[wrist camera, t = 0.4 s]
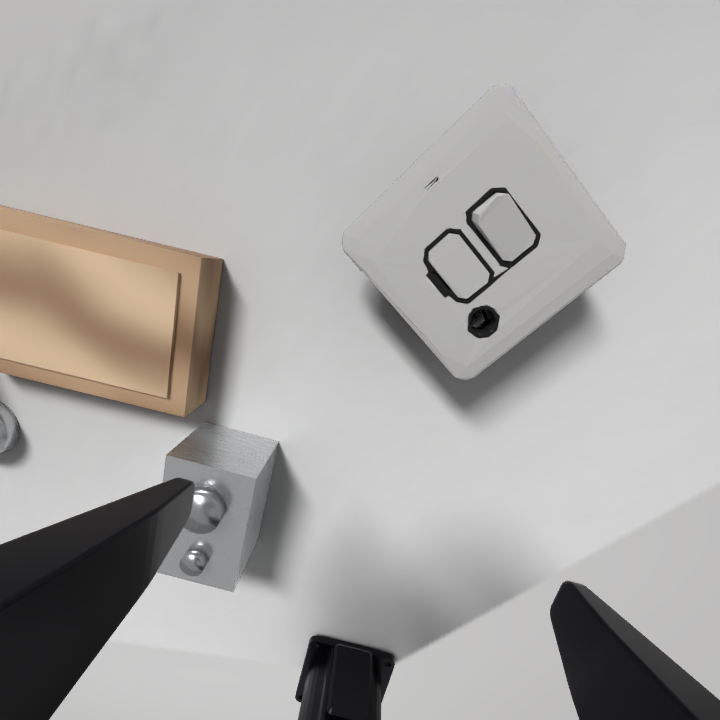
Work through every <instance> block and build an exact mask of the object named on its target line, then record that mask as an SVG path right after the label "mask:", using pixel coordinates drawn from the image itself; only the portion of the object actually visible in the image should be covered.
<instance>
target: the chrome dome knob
mask: <svg viewBox="0 0 720 720" xmlns="http://www.w3.org/2000/svg"><path fill="white" fill-rule="evenodd" d="M19 436H20V427H19V423H18V420H17V418H16V417H15V415H14V413H13V412H12V411H11V410H10V409H9V408H8V407H7V406H6V405H5V404H3V403H2V402H0V453H1V452H3V451H5V450H8V449H10V448H11V447H13V446H14V445H15V444H16V443H17V441H18V439H19Z"/></svg>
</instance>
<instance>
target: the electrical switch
mask: <svg viewBox="0 0 720 720" xmlns="http://www.w3.org/2000/svg"><path fill="white" fill-rule="evenodd" d="M485 199H486V200H485ZM484 200H485V201H484ZM483 201H484V202H483ZM482 202H483V203H482ZM481 203H482V204H481ZM342 246H343V250H344V252H345V253H346V254H347V255H348V256H349V257H350V258H351V260H352V261H353V262H354V263H355V264H356V266H357V267H358V268H359V269H360V270H361V271H363V273H364V274H365V275H366V276H367V277H368V278H369V279H370V281H371V282H372V283H373V284H374V285H375V286H376V287H377V289H378V290H379V291H380V292H381V293H382V294H383V295H384V297H385V298H386V299H387V300H388V301H389V302H390V303H391V305H392V306H393V307H394V308H395V309H396V310H397V312H398V313H399V314H400V315H401V316H402V317H403V318H404V320H405V321H406V322H407V323H408V324H409V325H410V326H411V328H412V329H413V330H414V331H415V332H416V333H417V334H418V336H419V337H420V338H421V339H422V340H423V341H424V342H425V344H426V345H427V346H428V347H429V348H430V349H431V350H432V352H433V353H434V354H435V355H436V357H437V358H438V360H439V361H440V362H441V363H442V364H443V365H444V366H445V367H446V368H447V370H448V371H449V372H450V373H451V374H452V375H453V376H454V377H455V378H458V379H461V380H464V381H466V380H469V379H472V378H474V377H476V376H477V375H478V374H480V373H481V372H482V371H483V370H485V369H486V368H487V367H489V366H490V365H491V364H492V363H494V362H495V361H496V360H498V359H499V358H500V357H501V356H503V355H504V354H505V353H507V352H508V351H509V350H510V349H512V348H513V347H514V346H515V345H517V344H518V343H519V342H521V341H522V340H523V339H524V338H526V337H527V336H528V335H530V334H531V333H532V332H533V331H535V330H536V329H537V328H539V327H540V326H541V325H542V324H544V323H545V322H546V321H548V320H549V319H550V318H551V317H553V316H554V315H555V314H557V313H558V312H559V311H560V310H562V309H563V308H564V307H565V306H567V305H568V304H569V303H571V302H572V301H573V300H574V299H576V298H577V297H578V296H580V295H581V294H582V293H583V292H585V291H586V290H587V289H589V288H590V287H591V286H592V285H594V284H595V283H596V282H598V281H599V280H600V279H601V278H603V277H604V276H605V275H607V274H608V273H609V272H610V271H612V270H613V269H614V268H615V267H617V266H618V265H619V264H620V263H621V262H622V260H623V259H624V254H625V246H626V244H625V242H624V241H623V240H622V238H621V237H620V236H619V234H618V233H617V231H616V230H615V229H614V227H613V226H612V225H611V223H610V222H609V221H608V219H607V218H606V217H605V215H604V214H603V212H602V211H601V210H600V208H599V207H598V206H597V204H596V203H595V201H594V200H593V199H592V197H591V196H590V194H589V193H588V192H587V190H586V189H585V187H584V186H583V185H582V183H581V182H580V180H579V179H578V178H577V176H576V175H575V174H574V172H573V171H572V169H571V168H570V167H569V165H568V164H567V162H566V161H565V160H564V158H563V157H562V155H561V154H560V153H559V151H558V150H557V149H556V147H555V146H554V144H553V143H552V142H551V140H550V139H549V137H548V136H547V135H546V133H545V132H544V130H543V129H542V128H541V126H540V125H539V123H538V122H537V121H536V119H535V118H534V117H533V115H532V114H531V112H530V111H529V110H528V108H527V107H526V105H525V104H524V103H523V101H522V100H521V98H520V97H519V96H518V94H517V93H516V92H515V90H514V89H513V88H512V87H510V86H508V85H506V84H503V85H496V86H493V87H491V88H490V89H489V90H488V91H487V92H486V93H485V94H484V95H483V96H482V97H481V98H480V99H479V100H478V101H477V102H476V103H475V104H474V105H473V106H472V107H471V108H470V109H469V110H468V111H467V112H466V113H465V114H464V115H463V116H462V117H461V118H460V119H459V120H458V121H457V122H456V123H455V124H454V125H453V126H452V127H451V128H449V129H448V130H447V131H446V132H445V133H444V134H443V135H442V136H441V137H440V138H439V139H438V140H437V141H436V142H435V143H434V144H433V145H432V146H431V147H430V148H429V149H428V150H427V151H426V152H425V153H424V154H423V155H422V156H421V157H420V158H419V159H418V160H417V161H416V162H415V163H414V164H413V165H412V166H411V167H410V168H409V169H407V170H406V171H405V172H404V173H403V174H402V175H401V176H400V177H399V178H398V179H397V180H396V181H395V182H394V183H393V184H392V185H391V186H390V187H389V188H388V189H387V190H386V191H385V192H384V193H383V194H382V195H381V196H380V197H379V198H378V199H377V200H376V201H375V202H374V203H373V204H372V205H371V206H370V207H369V208H368V209H366V210H365V211H364V212H363V213H362V214H361V215H360V216H359V217H358V218H357V219H356V220H355V221H354V222H353V223H352V224H351V225H350V226H349V227H348V228H347V229H346V230H345V231H344V232H343V238H342ZM481 309H482V312H483V315H484V318H485V321H484V322H483V323H482V324H480V325H479V326H478V327H477V328H475V327H470V322H471V319H472V316H473V314H474V313H476V312H477V311H479V310H481Z"/></svg>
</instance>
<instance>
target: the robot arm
mask: <svg viewBox="0 0 720 720" xmlns="http://www.w3.org/2000/svg"><path fill="white" fill-rule="evenodd" d="M194 491H195V483H194V482H193V481H191V480H187V479H183V478H174V479H172V480H169V481H166V482H164V483H161V484H158V485H156V486H153V487H151V488H148V489H145V490H143V491H140V492H137V493H135V494H132V495H130V496H127V497H124V498H122V499H119V500H116V501H114V502H111V503H109V504H106V505H103V506H101V507H98V508H95V509H93V510H90V511H87V512H85V513H82V514H80V515H77V516H74V517H72V518H69V519H66V520H64V521H61V522H59V523H56V524H53V525H51V526H48V527H45V528H43V529H40V530H38V531H35V532H32V533H30V534H27V535H24V536H22V537H19V538H17V539H14V540H11V541H9V542H6V543H3V544H1V545H0V720H49V719H50V717H51V716H52V714H53V713H54V712H55V711H56V709H57V708H58V707H59V705H60V704H61V703H62V701H63V700H64V699H65V697H66V696H67V694H68V693H69V692H70V691H71V689H72V688H73V686H74V685H75V684H76V682H77V681H78V679H79V678H80V677H81V676H82V674H83V673H84V672H85V670H86V669H87V668H88V666H89V665H90V664H91V662H92V661H93V660H94V658H95V657H96V656H97V654H98V653H99V651H100V650H101V649H102V647H103V646H104V645H105V643H106V642H107V641H108V639H109V638H110V637H111V635H112V634H113V633H114V631H115V630H116V629H117V627H118V626H119V625H120V623H121V622H122V620H123V619H124V618H125V616H126V615H127V614H128V612H129V611H130V610H131V608H132V607H133V606H134V604H135V603H136V602H137V600H138V599H139V598H140V596H141V595H142V593H143V592H144V591H145V589H146V588H147V586H148V585H149V583H150V582H151V580H152V579H153V577H154V576H155V574H156V572H157V571H158V569H159V567H160V566H161V564H162V562H163V561H164V559H165V557H166V556H167V554H168V552H169V551H170V549H171V548H172V546H173V544H174V543H175V541H176V539H177V538H178V536H179V534H180V533H181V531H182V529H183V528H184V526H185V524H186V523H187V521H188V519H189V517H190V514H191V510H192V504H193V497H194ZM550 617H551V622H552V625H553V629H554V633H555V636H556V640H557V644H558V648H559V652H560V655H561V659H562V663H563V667H564V670H565V674H566V678H567V682H568V685H569V689H570V691H571V695H572V699H573V702H574V705H575V707H576V710H577V714H578V717H579V720H720V700H719V699H718V698H716V697H715V696H714V695H713V694H712V693H711V692H709V691H708V690H707V689H706V688H704V687H703V686H702V685H701V684H700V683H699V682H698V681H696V680H695V679H694V678H693V677H692V676H690V675H689V674H688V673H687V672H686V671H685V670H683V669H682V668H681V667H680V666H679V665H678V664H676V663H675V662H674V661H673V660H672V659H671V658H669V657H668V656H667V655H666V654H665V653H664V652H662V651H661V650H660V649H659V648H658V647H656V646H655V645H654V644H653V643H652V642H651V641H649V640H648V639H647V638H646V637H645V636H643V635H642V634H641V633H640V632H639V631H638V630H637V629H635V628H634V627H633V626H632V625H631V624H629V623H628V622H627V621H626V620H625V619H624V618H622V617H621V616H620V615H619V614H618V613H617V612H615V611H614V610H613V609H612V608H611V607H610V606H608V605H607V604H606V603H605V602H604V601H603V600H601V599H600V598H599V597H598V596H596V595H595V594H594V593H593V592H592V591H591V590H590V589H588V588H587V587H586V586H584V585H582V584H579V583H575V582H571V581H565V582H563V583H562V585H561V587H560V589H559V591H558V593H557V595H556V597H555V599H554V601H553V604H552V605H551V609H550ZM394 665H395V662H394V656H393V655H391V654H389V653H385V652H381V651H377V650H373V649H369V648H365V647H360V646H356V645H352V644H348V643H344V642H340V641H336V640H332V639H328V638H324V637H320V636H312V637H311V638H310V641H309V645H308V648H307V652H306V656H305V660H304V664H303V668H302V672H301V676H300V680H299V684H298V687H297V691H296V696H295V698H296V700H297V701H299V702H301V707H300V712H299V717H298V720H381V702H382V700H383V697H384V694H385V691H386V688H387V686H388V683H389V680H390V677H391V674H392V671H393V668H394Z"/></svg>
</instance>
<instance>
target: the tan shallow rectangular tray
mask: <svg viewBox="0 0 720 720" xmlns="http://www.w3.org/2000/svg"><path fill="white" fill-rule="evenodd" d="M222 265H223V259H221V258H217V257H212V256H208V255H204V254H200V253H196V252H192V251H188V250H183V249H179V248H175V247H171V246H167V245H163V244H159V243H154V242H150V241H146V240H142V239H138V238H134V237H129V236H125V235H121V234H117V233H113V232H109V231H105V230H100V229H96V228H92V227H88V226H84V225H80V224H76V223H71V222H67V221H63V220H59V219H55V218H51V217H46V216H42V215H38V214H34V213H30V212H26V211H22V210H17V209H13V208H9V207H5V206H1V205H0V372H1V373H5V374H9V375H13V376H17V377H21V378H25V379H30V380H34V381H38V382H42V383H46V384H50V385H54V386H58V387H62V388H66V389H71V390H75V391H79V392H83V393H87V394H91V395H95V396H99V397H103V398H108V399H112V400H116V401H120V402H124V403H128V404H132V405H136V406H140V407H144V408H149V409H153V410H157V411H161V412H165V413H169V414H173V415H177V416H181V417H185V416H186V415H188V414H189V413H191V412H192V411H193V410H195V409H196V408H197V407H199V406H200V405H201V404H203V403H204V402H205V401H206V394H207V386H208V378H209V369H210V361H211V353H212V345H213V337H214V329H215V321H216V313H217V305H218V297H219V289H220V281H221V273H222Z"/></svg>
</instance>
